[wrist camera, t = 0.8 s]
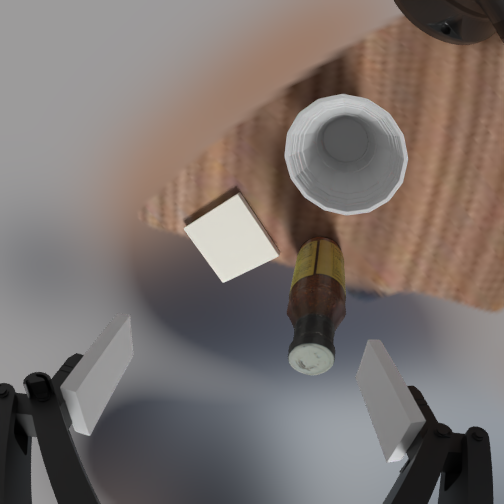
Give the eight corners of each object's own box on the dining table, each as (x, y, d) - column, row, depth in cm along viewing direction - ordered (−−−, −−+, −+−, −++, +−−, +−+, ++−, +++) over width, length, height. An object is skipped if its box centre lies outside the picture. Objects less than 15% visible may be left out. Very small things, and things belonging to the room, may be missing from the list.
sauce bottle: (300, 275, 45) (270, 382, 28) (297, 234, 43) (263, 332, 26) (346, 275, 43) (341, 386, 26) (346, 233, 41) (345, 335, 24)
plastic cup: (283, 118, 36) (260, 125, 26) (364, 83, 32) (376, 75, 21) (322, 196, 39) (314, 234, 29) (400, 166, 35) (424, 193, 25)
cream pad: (239, 192, 42) (237, 194, 41) (280, 252, 44) (278, 256, 44) (186, 226, 46) (183, 228, 46) (225, 279, 49) (223, 282, 48)
